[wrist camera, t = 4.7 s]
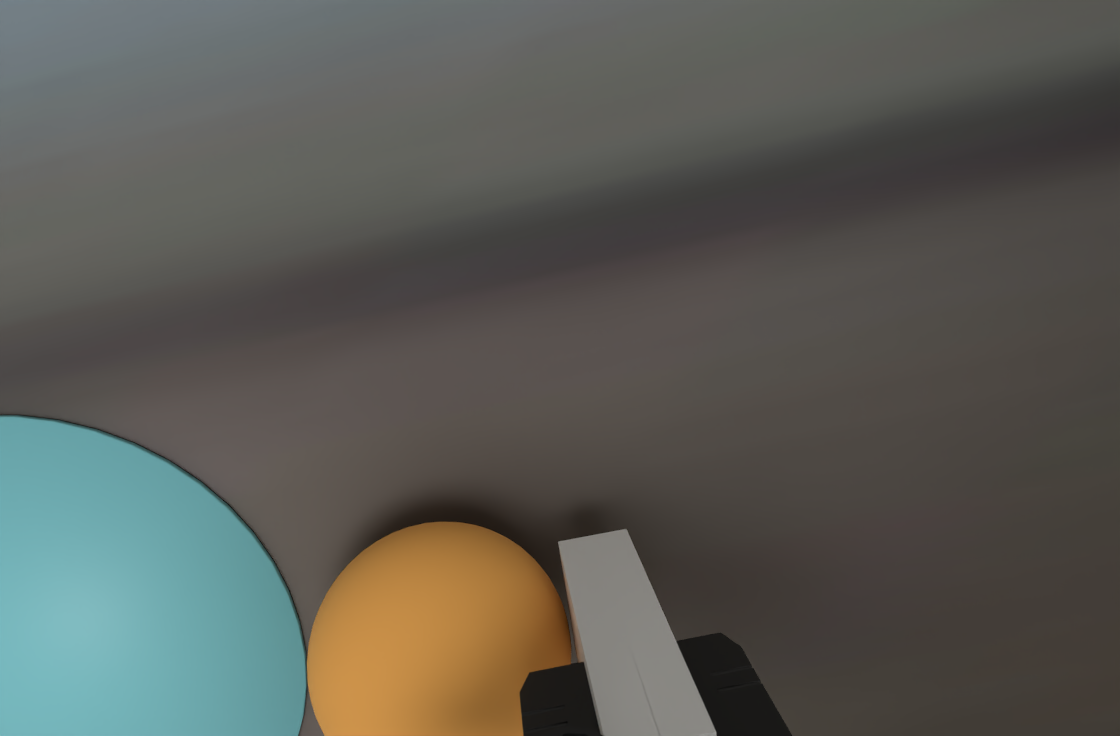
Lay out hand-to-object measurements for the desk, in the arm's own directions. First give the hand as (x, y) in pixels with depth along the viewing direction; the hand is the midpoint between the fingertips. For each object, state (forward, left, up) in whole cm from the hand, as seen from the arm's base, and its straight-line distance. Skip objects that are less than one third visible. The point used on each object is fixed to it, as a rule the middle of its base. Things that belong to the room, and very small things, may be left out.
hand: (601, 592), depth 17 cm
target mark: (+14, +1, -3) cm, 14 cm away
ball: (+4, +1, 0) cm, 4 cm away
